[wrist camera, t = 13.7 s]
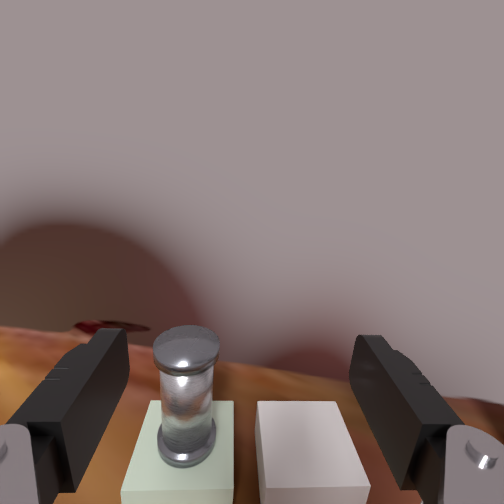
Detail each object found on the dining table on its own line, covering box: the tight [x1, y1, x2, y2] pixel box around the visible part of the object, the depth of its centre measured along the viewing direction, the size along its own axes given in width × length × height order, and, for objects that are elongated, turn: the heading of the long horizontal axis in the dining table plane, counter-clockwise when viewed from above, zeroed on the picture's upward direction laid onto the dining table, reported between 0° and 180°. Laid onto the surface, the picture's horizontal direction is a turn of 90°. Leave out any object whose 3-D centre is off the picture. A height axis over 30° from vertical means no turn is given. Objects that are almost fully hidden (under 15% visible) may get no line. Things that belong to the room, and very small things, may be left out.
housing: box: [153, 325, 220, 469], centre depth 29 cm, size 6×6×12 cm
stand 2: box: [255, 401, 371, 504], centre depth 33 cm, size 10×10×5 cm
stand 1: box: [121, 401, 234, 504], centre depth 31 cm, size 10×10×5 cm
